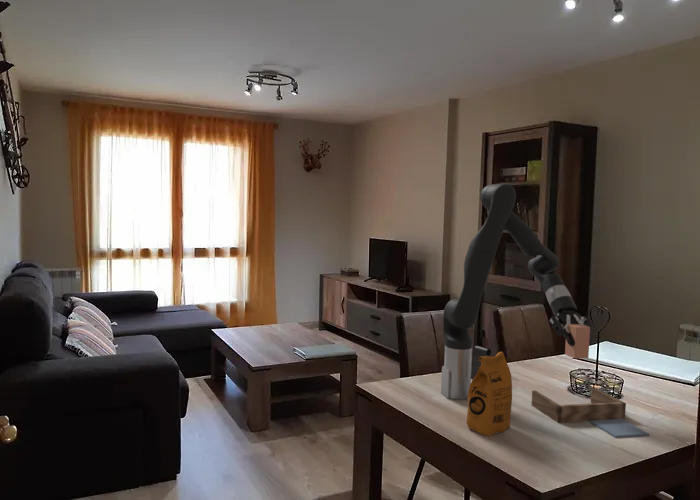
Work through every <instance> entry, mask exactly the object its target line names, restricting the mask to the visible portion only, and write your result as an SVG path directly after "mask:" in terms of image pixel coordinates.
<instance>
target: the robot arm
mask: <svg viewBox="0 0 700 500" xmlns="http://www.w3.org/2000/svg"><path fill="white" fill-rule="evenodd" d="M516 199H517V193H516V189H515V188H514V187H513V186H512V185H511V184H509V183H493V184H488V185H486V186H484V188H483V189H482V190H481V192H480V201H481V204H482V206H483V207H484V208H485V209H486V210H487V211H488V215H487V217H486V220H485V221H484V224H483V225H482V226H481V228H480V229H479V230H478V232H476V233H475V236H473V238H472V240H471V241H470V242H469V246H468V248H467V252H466V254H465V255H466V256H465V257H464V263H463V276H464V277H463V286H462V290H461V293H460V295H459V298H455V299H450V300H449V301H448V302H447V303H446V304H445V307H444V308H443V316H442V317H443V321H442V324H443V325H442V326H443V327H442V329H443V331H442V332H443V338H444V363H443V365H442V366H441V382H440V384H441V385H440V387H441V388H440V393H441V395H443V396H444V397H445V398H446V399H453V400H468V391H469V387H470V384H471V382H472V378H471V363H472V359H473V356H472V355H473V338H472V337H471V336H470V335H471V334H470V332H469V329H470V328H472V327H473V326H474V324H475V323H476V321H477V319H478V316H479V311H480V306H481V302H482V299H483V297H482V296H483V292H484V290H485V287H486V284H487V281H488V277H489V275H490V271H491V269H492V266H493V264H494V260H495V258H496V257H495V256H496V254H497V251H498V246H499V245H500V241H501V238H502V236H503V232H504V229H505V230H506V232H507V233H508V234H509V235H510V237H512V239H513V241H514V242H515V244H516V245H517V246H518V247H519V249H520V251H521V252H522V253H523V255H524V256H526V257H528V258H529V257H533V258H531V259H530V260H529V261H528V264H527V268H528V271H529V272H530V273H531V275H532V276H533V277H535V278H536V280H537V281H538V283H539V285H540V286H541V287H542V289H543V292H544V294H545V296H546V301H547V302H548V304H549V306H550V308H551V311H552V313H553V315H554V316H552V317H551V318H550V319H549V320H548V322H549V324H550V326H551V327H552V329H554V331H555V332H556V334H557V335H558V336H563V337H564V338H565V341H566V340H567V342H568V344H569V345H570V346H574V345H575V341H574V339H573V336H572V334H571V333H570V329H569V325H570V324H582V325H585V326H588V327H590V333H591V332H592V331H593V328H592V324H591V319H590V317H589V316H588V315H585V316H581V315H580V314H579V312H578V309H577V305H576V304H575V301H574V300H573V297H572V295H571V294H570V293H571V292H570V291H569V289H568V288H567V287H566V284H565V283H564V281H563V278H562V277H561V275H560V274H559V273H557V272H556V273H555V272H554V273H551V272H553V271H555V270H557V269H558V268H559V266H560V259H559V257H558V256H557V255H556V254H555V253H554V252H553V251H551V250H550V249H549V248H548V247H547V246H545V245H544V244H543V243H542V242H541V240H540V239H539V238H538V236H537V234H536V233H535V231H534V230H533V229H532V228H531V227H530V226H529V225H528V224H527V223H526V222H525V221H523V220H522V219H521V218H520V217H519V216H518V215H517V214H516V213H515V212H514V211H513V209H514V207H515V205H516V204H515V203H516V201H517V200H516ZM534 256H535V257H534ZM591 339H592V338H590V339H589V346H590V345H591V343H592V340H591Z"/></svg>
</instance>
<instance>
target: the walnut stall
mask: <svg viewBox="0 0 700 500" xmlns="http://www.w3.org/2000/svg"><path fill="white" fill-rule="evenodd" d="M531 406H532V407H533V408H534V409H537V411H539V412H541V413H542V414H544V415H545V416H547V417H548V418H550V419H552V420H553V421H554V422H556V423H558V424H560V423H563V424H564V423H575V422H576V423H577V422H578V423H579V422H590V421H595V420H612V419H623V420H625V419H626V406H627V403H626V402H624V401H622V400H620V399H618V398H617V397H614V396H612V395H610V394H608V393H606V392H604V391H602V390H600V389H597V388H596V387H591V392H590V403H574V404H573V403H572V404H559V403H557V402H555V401H554V400H552V399H551V398H549V397H548V396H545V395H544V394H542V393H541V392H539V391H537V390H535V389H534V390H531Z"/></svg>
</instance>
